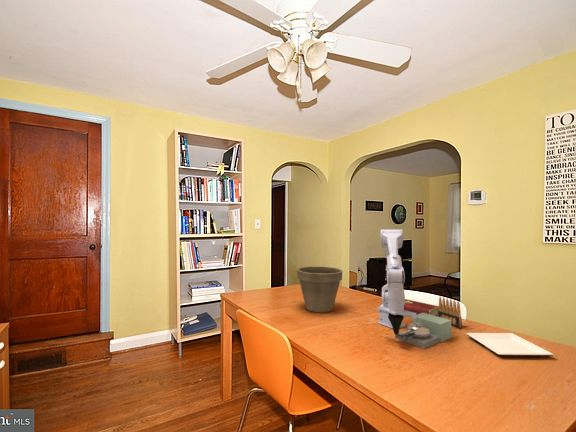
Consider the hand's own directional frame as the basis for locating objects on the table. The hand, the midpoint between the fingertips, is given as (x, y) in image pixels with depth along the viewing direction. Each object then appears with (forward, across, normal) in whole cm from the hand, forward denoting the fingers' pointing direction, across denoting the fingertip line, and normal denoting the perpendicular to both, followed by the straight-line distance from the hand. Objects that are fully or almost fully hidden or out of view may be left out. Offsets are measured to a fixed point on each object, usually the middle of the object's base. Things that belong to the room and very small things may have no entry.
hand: (396, 333), depth 111 cm
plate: (+3, +35, +18) cm, 39 cm away
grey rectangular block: (+3, +8, +10) cm, 13 cm away
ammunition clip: (+3, +15, +33) cm, 36 cm away
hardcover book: (+4, -3, +46) cm, 46 cm away
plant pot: (+3, -46, +20) cm, 51 cm away
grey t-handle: (+1, +6, +2) cm, 6 cm away
